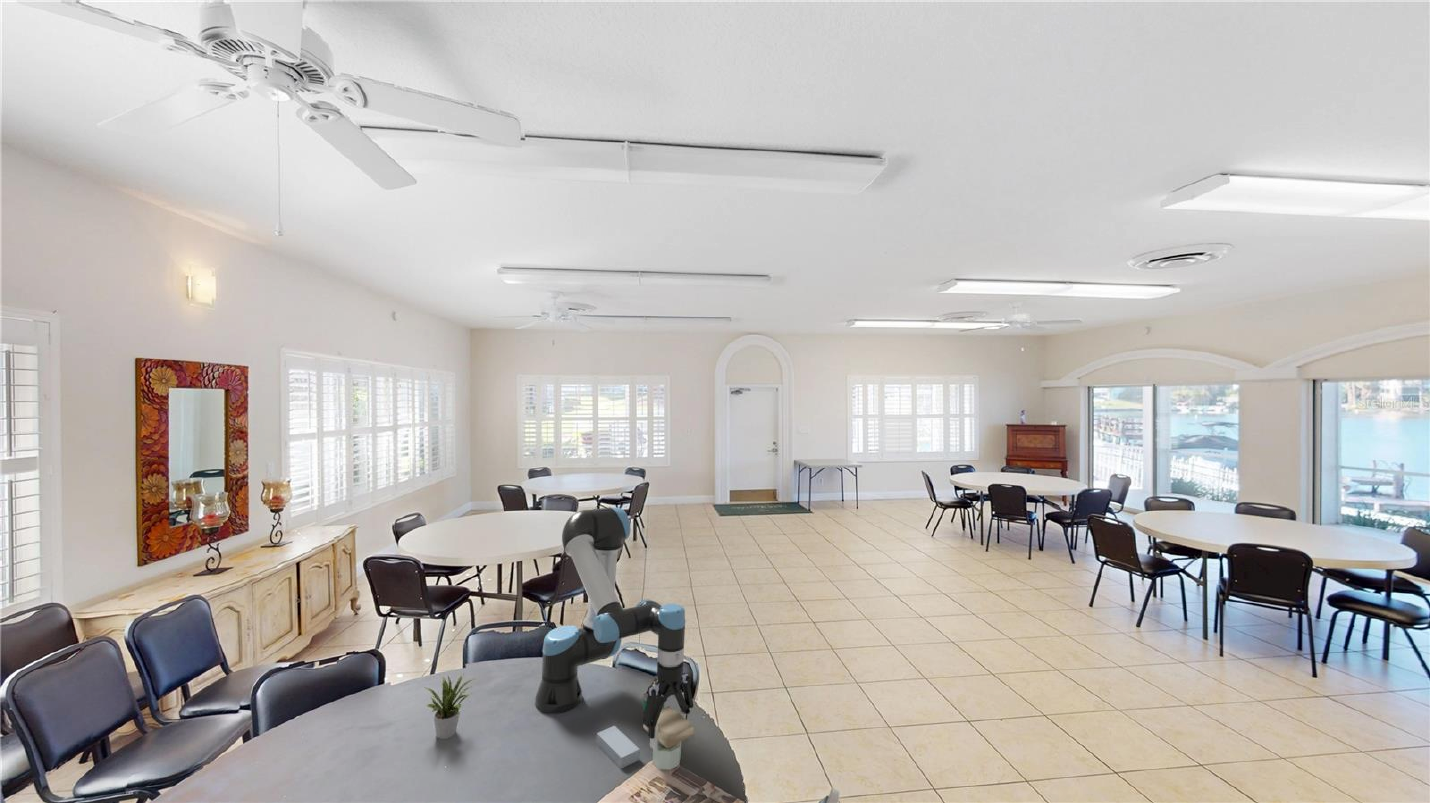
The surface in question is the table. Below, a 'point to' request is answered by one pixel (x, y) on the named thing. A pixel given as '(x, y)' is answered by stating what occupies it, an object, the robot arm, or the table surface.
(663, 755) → the cup
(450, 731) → the house plant
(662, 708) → the food container
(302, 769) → the table surface
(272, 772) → the table surface
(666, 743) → the gold metallic plate
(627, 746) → the light gray rectangular block
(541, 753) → the table surface
